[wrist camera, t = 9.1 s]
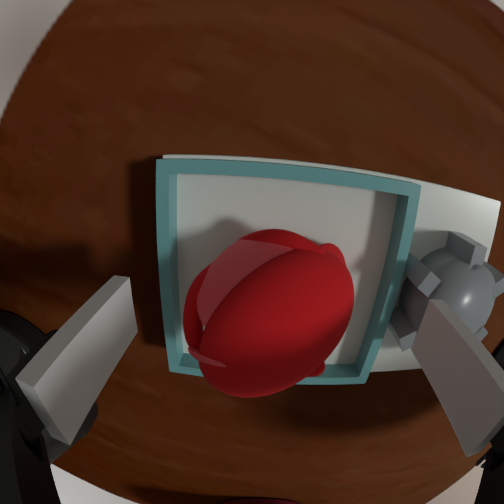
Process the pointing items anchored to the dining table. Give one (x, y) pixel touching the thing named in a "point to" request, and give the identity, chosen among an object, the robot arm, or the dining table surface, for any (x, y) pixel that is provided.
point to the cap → (268, 312)
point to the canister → (259, 501)
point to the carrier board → (340, 234)
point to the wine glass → (499, 354)
